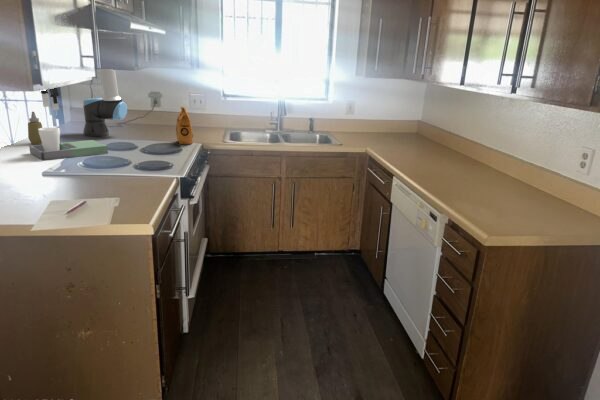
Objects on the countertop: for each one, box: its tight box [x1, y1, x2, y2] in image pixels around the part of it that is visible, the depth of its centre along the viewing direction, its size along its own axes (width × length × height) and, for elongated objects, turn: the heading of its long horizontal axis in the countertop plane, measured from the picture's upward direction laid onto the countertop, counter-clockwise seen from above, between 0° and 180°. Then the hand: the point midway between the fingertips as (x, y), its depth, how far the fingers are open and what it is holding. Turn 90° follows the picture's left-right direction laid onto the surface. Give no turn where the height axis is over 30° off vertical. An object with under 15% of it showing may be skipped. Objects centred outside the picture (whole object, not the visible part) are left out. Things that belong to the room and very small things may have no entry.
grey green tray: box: [28, 139, 109, 161], centre depth 226 cm, size 32×19×4 cm, turn 136°
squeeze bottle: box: [27, 111, 43, 145], centre depth 241 cm, size 8×8×18 cm
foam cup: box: [38, 126, 61, 152], centre depth 218 cm, size 10×9×13 cm
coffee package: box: [175, 106, 194, 145], centre depth 265 cm, size 10×12×22 cm
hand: (51, 108), depth 219 cm, fingers open, 13 cm apart
